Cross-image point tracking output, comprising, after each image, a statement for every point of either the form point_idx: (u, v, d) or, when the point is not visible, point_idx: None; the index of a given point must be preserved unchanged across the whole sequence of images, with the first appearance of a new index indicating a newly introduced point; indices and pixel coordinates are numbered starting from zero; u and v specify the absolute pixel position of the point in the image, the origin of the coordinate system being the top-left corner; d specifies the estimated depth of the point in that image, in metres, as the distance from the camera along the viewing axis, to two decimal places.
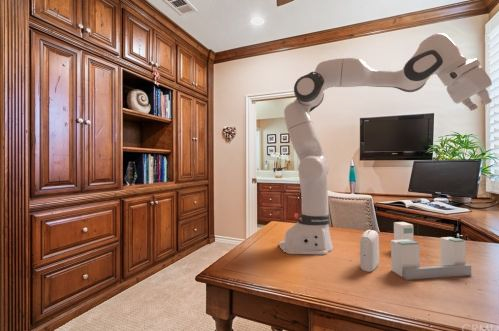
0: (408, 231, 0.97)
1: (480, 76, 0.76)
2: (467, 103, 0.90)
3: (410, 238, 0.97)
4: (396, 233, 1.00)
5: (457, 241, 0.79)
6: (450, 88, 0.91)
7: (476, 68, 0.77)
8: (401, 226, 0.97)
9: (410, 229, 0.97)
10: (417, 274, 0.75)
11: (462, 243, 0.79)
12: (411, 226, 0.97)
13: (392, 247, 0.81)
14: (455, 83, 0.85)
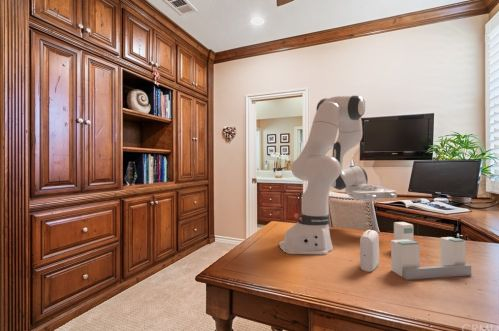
0: (408, 231, 0.97)
1: None
2: None
3: (410, 238, 0.97)
4: (396, 233, 1.00)
5: (457, 241, 0.79)
6: None
7: None
8: (401, 226, 0.97)
9: (410, 229, 0.97)
10: (417, 274, 0.75)
11: (462, 243, 0.79)
12: (411, 226, 0.97)
13: (392, 247, 0.81)
14: None
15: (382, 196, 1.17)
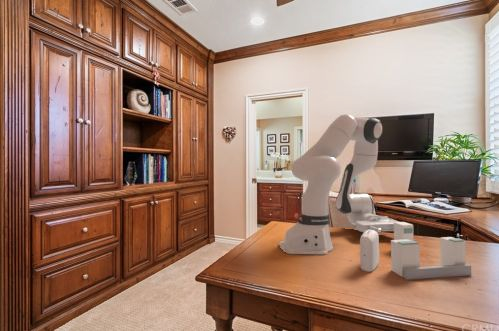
0: (408, 231, 0.97)
1: None
2: None
3: (410, 238, 0.97)
4: (396, 233, 1.00)
5: (457, 241, 0.79)
6: (363, 221, 1.18)
7: None
8: (401, 226, 0.97)
9: (410, 229, 0.97)
10: (417, 274, 0.75)
11: (462, 243, 0.79)
12: (411, 226, 0.97)
13: (392, 247, 0.81)
14: None
15: (387, 228, 1.13)
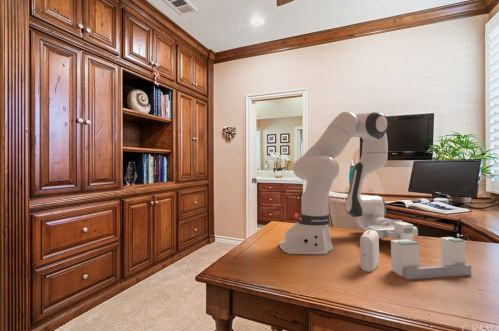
0: (408, 231, 0.97)
1: None
2: None
3: (410, 238, 0.97)
4: None
5: (457, 241, 0.79)
6: (375, 225, 1.08)
7: None
8: (401, 226, 0.97)
9: (410, 229, 0.97)
10: (417, 274, 0.75)
11: (462, 243, 0.79)
12: (411, 226, 0.97)
13: (392, 247, 0.81)
14: None
15: None
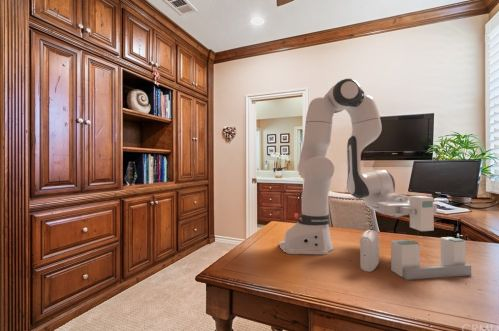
0: (427, 205, 0.81)
1: None
2: None
3: (430, 213, 0.81)
4: None
5: (457, 241, 0.79)
6: (387, 202, 0.93)
7: None
8: (419, 199, 0.82)
9: (430, 202, 0.81)
10: (417, 274, 0.75)
11: (462, 243, 0.79)
12: (431, 199, 0.81)
13: (392, 247, 0.81)
14: None
15: None
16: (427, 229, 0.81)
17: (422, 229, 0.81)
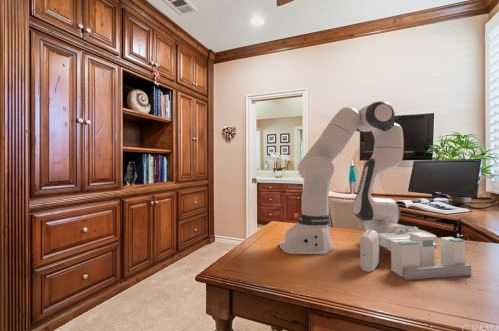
0: (428, 244, 0.81)
1: None
2: None
3: (430, 252, 0.81)
4: None
5: (457, 241, 0.79)
6: (388, 233, 0.93)
7: None
8: (420, 238, 0.82)
9: (430, 242, 0.81)
10: (417, 274, 0.75)
11: (462, 243, 0.79)
12: (431, 238, 0.81)
13: (392, 247, 0.81)
14: None
15: None
16: None
17: None
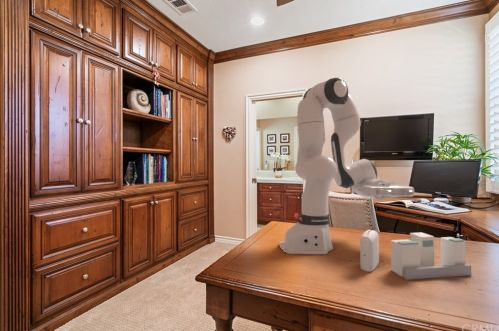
0: (428, 244, 0.81)
1: None
2: None
3: (430, 252, 0.81)
4: None
5: (457, 241, 0.79)
6: None
7: None
8: (419, 238, 0.82)
9: (430, 242, 0.81)
10: (417, 274, 0.75)
11: (462, 243, 0.79)
12: (431, 238, 0.81)
13: (392, 247, 0.81)
14: None
15: (397, 193, 1.00)
16: None
17: None
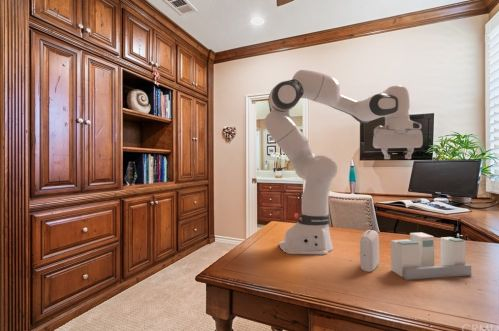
0: (428, 244, 0.81)
1: None
2: None
3: (430, 252, 0.81)
4: None
5: (457, 241, 0.79)
6: (388, 132, 1.01)
7: None
8: (419, 238, 0.82)
9: (430, 242, 0.81)
10: (417, 274, 0.75)
11: (462, 243, 0.79)
12: (431, 238, 0.81)
13: (392, 247, 0.81)
14: (405, 131, 1.01)
15: None
16: None
17: None
